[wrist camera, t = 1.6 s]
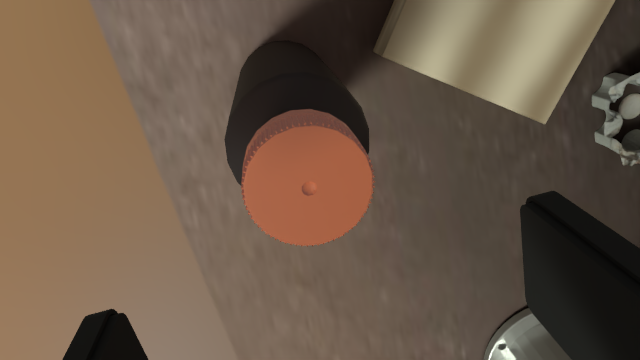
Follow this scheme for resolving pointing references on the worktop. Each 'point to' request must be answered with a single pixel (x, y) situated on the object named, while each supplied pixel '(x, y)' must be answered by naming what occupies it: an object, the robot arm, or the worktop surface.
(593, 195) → the worktop surface
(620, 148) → the egg carton
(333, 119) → the vinegar
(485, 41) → the maple base
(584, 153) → the worktop surface
